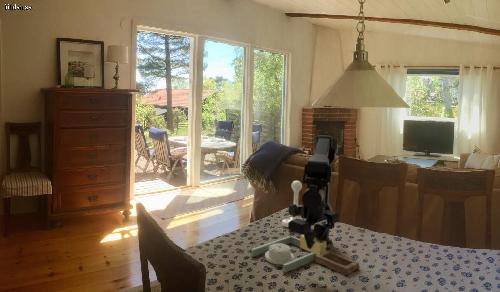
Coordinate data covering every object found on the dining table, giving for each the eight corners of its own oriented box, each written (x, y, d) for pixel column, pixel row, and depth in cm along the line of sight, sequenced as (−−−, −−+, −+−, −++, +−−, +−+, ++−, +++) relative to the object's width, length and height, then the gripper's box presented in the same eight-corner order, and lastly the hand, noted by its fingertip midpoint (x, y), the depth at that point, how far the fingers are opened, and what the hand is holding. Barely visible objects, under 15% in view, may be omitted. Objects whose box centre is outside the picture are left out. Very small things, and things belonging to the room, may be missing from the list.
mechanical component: (262, 263, 134) (292, 267, 132) (263, 251, 133) (292, 254, 131) (267, 251, 143) (295, 254, 141) (267, 239, 143) (295, 243, 141)
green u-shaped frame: (290, 241, 152) (290, 235, 152) (324, 255, 141) (324, 249, 140) (251, 255, 139) (251, 249, 138) (284, 272, 127) (285, 265, 127)
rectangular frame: (327, 255, 141) (328, 250, 141) (358, 268, 132) (359, 262, 132) (315, 261, 136) (315, 255, 136) (346, 274, 127) (346, 269, 127)
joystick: (299, 231, 163) (302, 184, 160) (281, 230, 164) (283, 183, 161) (300, 222, 174) (302, 178, 170) (282, 221, 175) (285, 176, 171)
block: (299, 247, 128) (300, 235, 128) (305, 245, 131) (306, 233, 130) (319, 255, 123) (320, 243, 122) (325, 253, 125) (326, 241, 124)
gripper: (314, 189, 136) (311, 232, 139) (276, 198, 124) (274, 246, 126) (341, 197, 128) (338, 242, 130) (303, 207, 116) (301, 258, 118)
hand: (312, 247), depth 126 cm, fingers closed on block, 3 cm apart
